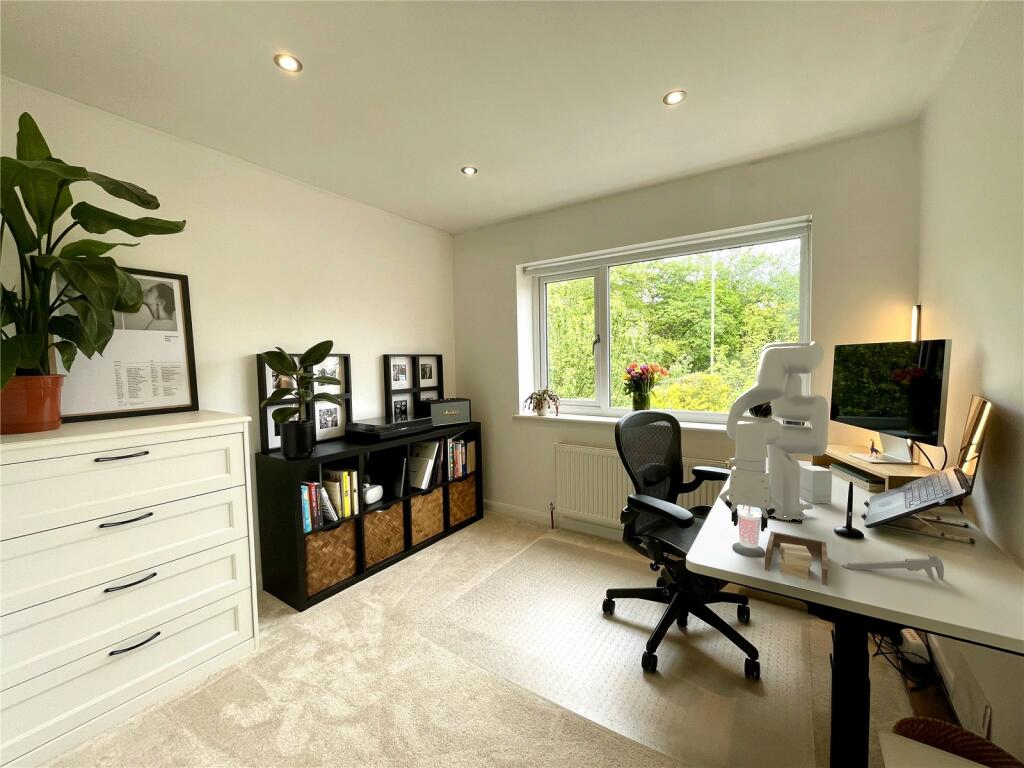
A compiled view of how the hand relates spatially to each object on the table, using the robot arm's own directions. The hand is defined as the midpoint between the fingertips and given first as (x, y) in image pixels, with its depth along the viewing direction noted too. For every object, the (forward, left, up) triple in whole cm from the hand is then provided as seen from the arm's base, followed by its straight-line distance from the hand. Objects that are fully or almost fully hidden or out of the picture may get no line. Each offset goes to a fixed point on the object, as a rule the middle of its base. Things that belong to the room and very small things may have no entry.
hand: (749, 526), depth 119 cm
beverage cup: (0, 0, -5) cm, 5 cm away
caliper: (-28, +15, -7) cm, 32 cm away
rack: (-8, +8, -7) cm, 13 cm away
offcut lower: (-4, +12, -7) cm, 15 cm away
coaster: (0, 0, -7) cm, 7 cm away
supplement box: (-51, -37, -7) cm, 63 cm away
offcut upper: (-5, +12, -4) cm, 13 cm away
